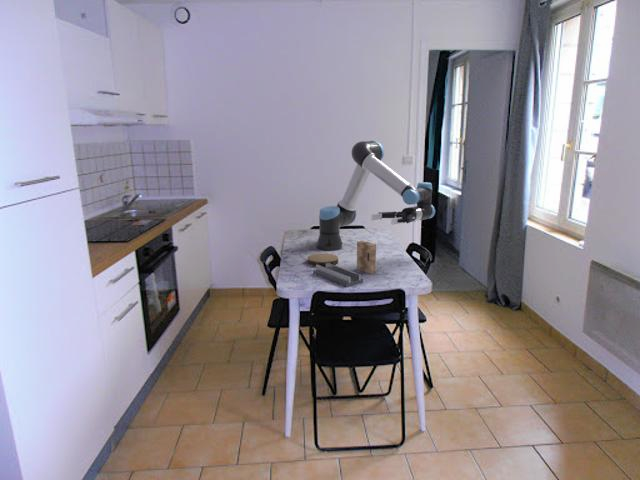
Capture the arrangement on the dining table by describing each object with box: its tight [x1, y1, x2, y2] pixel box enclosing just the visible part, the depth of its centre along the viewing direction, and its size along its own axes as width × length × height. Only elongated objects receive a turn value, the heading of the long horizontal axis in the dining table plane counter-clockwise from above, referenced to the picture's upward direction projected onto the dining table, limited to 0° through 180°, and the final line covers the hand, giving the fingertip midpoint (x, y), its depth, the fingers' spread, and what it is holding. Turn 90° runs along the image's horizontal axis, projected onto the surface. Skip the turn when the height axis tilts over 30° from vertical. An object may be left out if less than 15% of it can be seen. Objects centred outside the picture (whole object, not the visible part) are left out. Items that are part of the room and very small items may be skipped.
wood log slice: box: [306, 252, 339, 268], centre depth 232 cm, size 16×16×3 cm
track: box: [312, 263, 364, 288], centre depth 208 cm, size 24×10×4 cm, turn 37°
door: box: [356, 240, 377, 275], centre depth 217 cm, size 10×3×14 cm, turn 37°
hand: (381, 219), depth 219 cm, fingers open, 13 cm apart
